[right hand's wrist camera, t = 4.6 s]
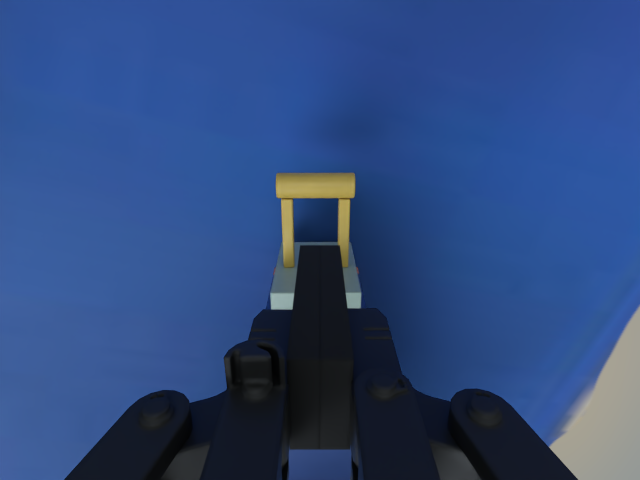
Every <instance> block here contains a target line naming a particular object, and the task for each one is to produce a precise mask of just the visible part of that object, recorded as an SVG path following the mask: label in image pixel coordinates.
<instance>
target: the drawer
mask: <svg viewBox="0 0 640 480" xmlns="http://www.w3.org/2000/svg"><path fill="white" fill-rule="evenodd" d="M276 195H277V198H282V199H281V212H282V238H283V242H281V246H280V251H279V255H278V260H277V265H276V269H275V274H274V278H273V283H272V287H271V292H270V299H271V309H292V307H293V299H294V291H295V283H296V275H297V266H298V258H299V250H300V245H340V250H341V258H342V266H343V275H344V283H345V291H346V299H347V307H348V308H361V288H360V284H359V279H358V274H357V269H356V265H355V260H354V255H353V250H352V246H351V242H349V227H350V198H354V196H355V174H354V173H277V175H276ZM293 198H338V242H294V213H293Z"/></svg>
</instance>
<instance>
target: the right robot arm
mask: <svg viewBox="0 0 640 480" xmlns="http://www.w3.org/2000/svg"><path fill="white" fill-rule="evenodd" d="M224 364H225V373H226V382H227V390H225V391H224V392H222V393H220V394H218V395H217V396H214V397H211V398H208V399H204V400H200V401H196V402H192V403H189V400H188V399H187V397H186V396H185V395H184V394H182V393H180V392H177V391H174V390H162V391H158V392H154V393H150V394H148V395H146V396H144V397H142V398H140V399H139V400H137V401H136V402H135V403H134V404H133V405H131V406H130V407H129V408H128V409H127V410H126V412H125V413H124V414H123V415H122V416H121V417H120V418H119V419H118V420H117V422H116V423H115V424H114V425H113V426H112V427H111V428H110V429H109V430H108V432H107V433H106V434H105V435H104V436H103V437H102V438H101V439H100V440H99V442H98V443H97V444H96V445H95V446H94V447H93V448H92V449H91V450H90V452H89V453H88V454H87V455H86V456H85V457H84V458H83V459H82V460H81V462H80V463H79V464H78V465H77V466H76V467H75V468H74V469H73V470H72V472H71V473H70V474H69V475H68V476H67V477H66V478H65V479H64V480H289V445H290V450H350V445H351V476H350V480H578V479H577V478H576V477H575V476H574V475H573V474H572V473H571V471H570V470H569V469H568V468H567V467H566V466H565V465H564V464H563V463H562V461H561V460H560V459H559V458H558V457H557V456H556V455H555V454H554V453H553V452H552V450H551V449H550V448H549V447H548V446H547V445H546V444H545V443H544V442H543V440H542V439H541V438H540V437H539V436H538V435H537V434H536V433H535V432H534V431H533V429H532V428H531V427H530V426H529V425H528V424H527V423H526V422H525V421H524V419H523V418H522V417H521V416H520V415H519V414H518V413H517V412H516V411H515V410H514V408H513V407H512V406H511V405H510V404H508V403H507V402H506V401H505V400H504V399H502V398H501V397H499V396H497V395H495V394H493V393H491V392H489V391H485V390H480V389H464V390H462V391H459V392H457V393H456V394H455V395H454V396H453V397H452V399H451V402H450V401H446V400H442V399H438V398H434V397H431V396H428V395H425V394H423V393H421V392H419V391H417V390H415V389H414V388H413V387H412V385H411V383H410V381H409V380H408V379H407V378H406V377H405V376H404V375H402V372H401V369H400V365H399V361H398V358H397V354H396V351H395V347H394V344H393V340H392V337H391V333H390V331H389V326H388V322H387V319H386V317H385V316H384V315H383V314H382V313H381V312H380V311H379V310H378V309H377V308H348V307H347V299H346V291H345V283H344V275H343V266H342V258H341V250H340V245H300V250H299V258H298V266H297V275H296V283H295V291H294V299H293V307H292V309H263V310H262V311H261V312H260V313H259V314H258V315H257V316H256V317H255V318H254V320H253V324H252V327H251V332H250V335H249V338H248V340H247V341H245V342H242V343H239V344H237V345H235V346H234V347H232V348H231V349H230V350H228V352H227V354H226V355H225V357H224Z"/></svg>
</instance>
